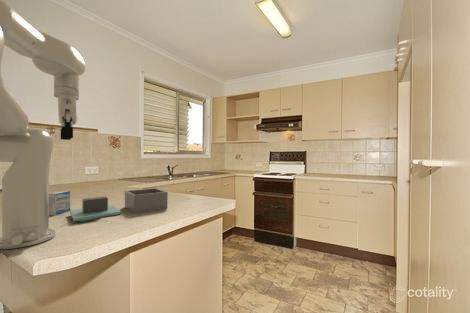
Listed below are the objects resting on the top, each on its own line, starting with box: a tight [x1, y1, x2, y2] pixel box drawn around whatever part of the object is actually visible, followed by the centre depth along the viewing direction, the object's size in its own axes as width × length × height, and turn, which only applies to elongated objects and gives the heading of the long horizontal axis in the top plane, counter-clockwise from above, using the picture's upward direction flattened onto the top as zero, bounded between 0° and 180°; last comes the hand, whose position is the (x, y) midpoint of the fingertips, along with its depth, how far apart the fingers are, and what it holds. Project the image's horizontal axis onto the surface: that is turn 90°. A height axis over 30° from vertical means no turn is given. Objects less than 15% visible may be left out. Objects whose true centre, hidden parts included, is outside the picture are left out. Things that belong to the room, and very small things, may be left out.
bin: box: [124, 187, 169, 214], centre depth 98 cm, size 14×14×8 cm
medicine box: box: [49, 190, 71, 216], centre depth 91 cm, size 8×4×9 cm, turn 179°
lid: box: [69, 196, 122, 223], centre depth 87 cm, size 15×15×7 cm
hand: (66, 138), depth 83 cm, fingers open, 9 cm apart
